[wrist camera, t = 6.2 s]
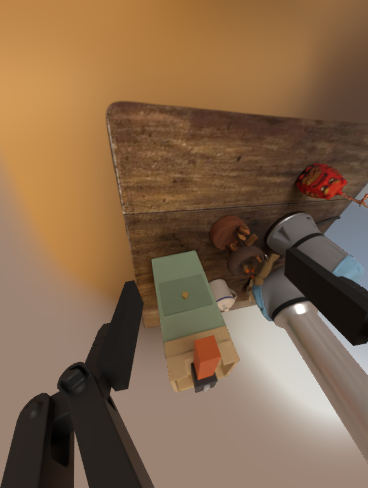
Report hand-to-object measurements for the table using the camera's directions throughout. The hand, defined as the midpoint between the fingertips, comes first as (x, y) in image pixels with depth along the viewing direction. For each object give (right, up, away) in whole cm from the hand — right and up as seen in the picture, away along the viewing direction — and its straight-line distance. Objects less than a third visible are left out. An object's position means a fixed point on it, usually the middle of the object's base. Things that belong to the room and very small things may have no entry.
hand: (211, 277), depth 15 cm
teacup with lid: (+12, -14, +58) cm, 61 cm away
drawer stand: (-5, -6, +44) cm, 45 cm away
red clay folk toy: (+31, +21, +31) cm, 48 cm away
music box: (+10, +7, +37) cm, 39 cm away
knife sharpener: (+1, -20, +20) cm, 28 cm away
